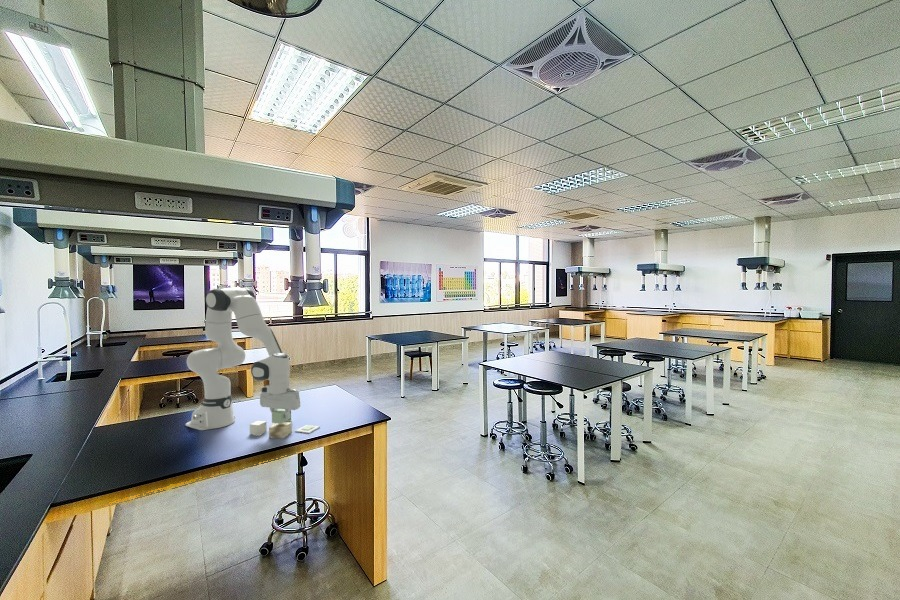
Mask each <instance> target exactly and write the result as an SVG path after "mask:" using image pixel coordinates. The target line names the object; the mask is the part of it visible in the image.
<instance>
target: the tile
mask: <svg viewBox="0 0 900 600" xmlns="http://www.w3.org/2000/svg"><path fill="white" fill-rule="evenodd" d="M320 428H321V426H319V425H313V424H311V425H310V424H305V425H303V426H302V427H299V428H297V429H295V430H294V432H295V433H300V432H302V434H308V433H310V434H311V433H313V432H315V431H316V430H318V429H320Z"/></svg>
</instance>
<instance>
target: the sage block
mask: <svg viewBox="0 0 900 600" xmlns="http://www.w3.org/2000/svg"><path fill="white" fill-rule="evenodd" d="M285 413H286V411H285V409H278V410H276V411H273V412H272V413H271V423H272V424H275V423H278V424H281V423H284V422H286V421H288V420H289V417H288V418H283V417H284V416H283V415H284V414H285Z"/></svg>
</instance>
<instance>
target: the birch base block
mask: <svg viewBox="0 0 900 600" xmlns="http://www.w3.org/2000/svg"><path fill="white" fill-rule="evenodd" d="M292 429H293V428H292V422H291V421H289V422H284V423H281V424H278V423H273V424H272V425H270V426H269V427H268V438H269V437H273V438H272V439H285V438H286V437H287V436H289V435H290V434H291V433H292ZM289 433H290V434H289ZM288 434H289V435H288ZM285 436H286V437H285ZM284 437H285V438H284Z"/></svg>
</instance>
